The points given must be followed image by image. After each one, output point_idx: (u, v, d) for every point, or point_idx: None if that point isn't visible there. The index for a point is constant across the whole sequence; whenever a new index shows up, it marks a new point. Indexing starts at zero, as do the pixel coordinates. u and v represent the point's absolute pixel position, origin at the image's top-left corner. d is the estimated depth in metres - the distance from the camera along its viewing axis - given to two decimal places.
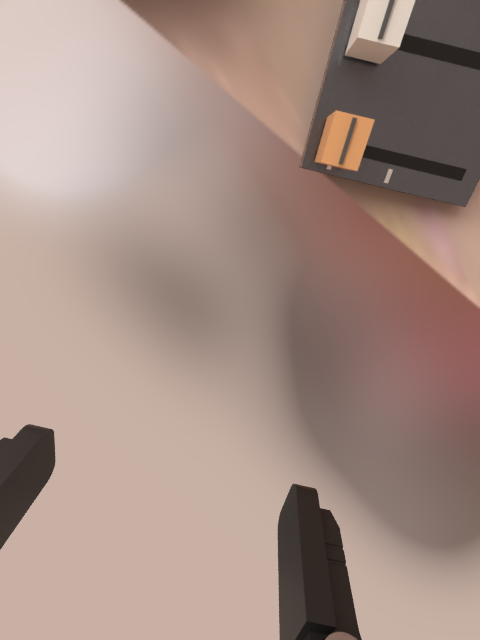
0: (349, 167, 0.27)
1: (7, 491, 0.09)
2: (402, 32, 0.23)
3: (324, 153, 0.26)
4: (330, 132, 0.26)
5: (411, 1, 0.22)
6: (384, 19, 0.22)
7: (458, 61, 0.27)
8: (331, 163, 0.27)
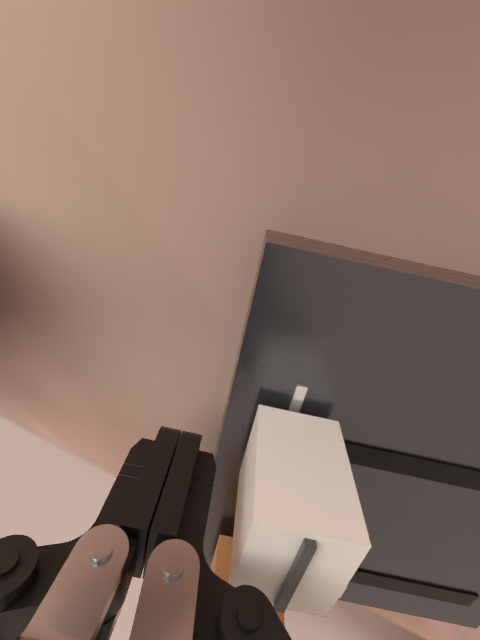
0: None
1: (163, 486, 0.10)
2: (330, 602, 0.09)
3: None
4: None
5: (347, 570, 0.09)
6: (284, 589, 0.09)
7: (462, 481, 0.14)
8: None
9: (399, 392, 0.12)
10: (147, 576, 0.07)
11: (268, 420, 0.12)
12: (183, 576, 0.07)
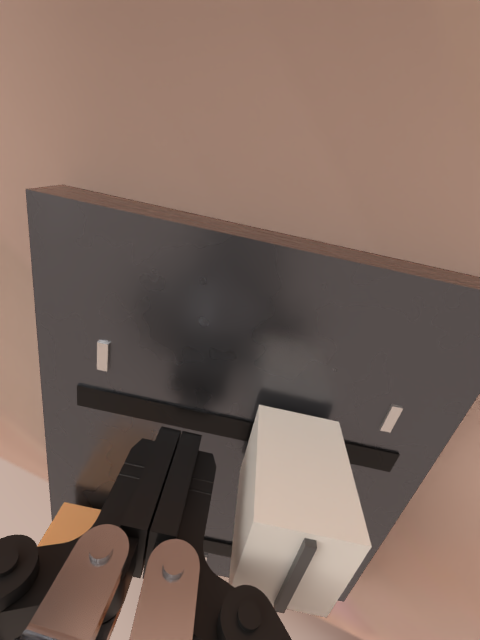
0: None
1: (163, 486, 0.10)
2: (331, 602, 0.09)
3: None
4: None
5: (347, 570, 0.09)
6: (284, 590, 0.09)
7: None
8: None
9: (198, 348, 0.12)
10: (147, 576, 0.07)
11: (268, 420, 0.12)
12: (183, 576, 0.07)
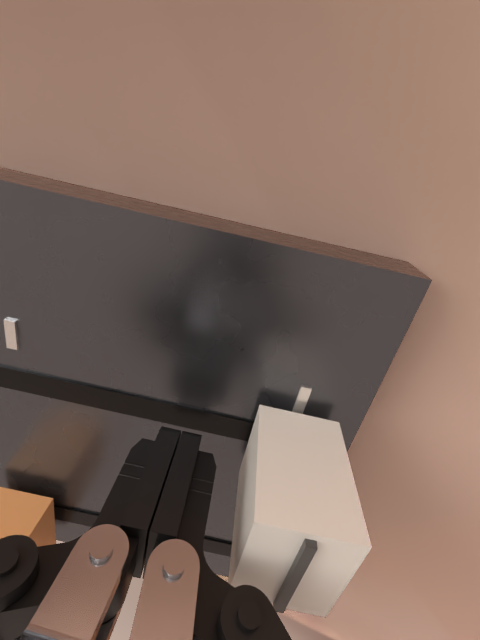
0: None
1: (163, 486, 0.10)
2: (330, 603, 0.10)
3: None
4: None
5: (347, 570, 0.09)
6: (283, 590, 0.09)
7: (202, 425, 0.14)
8: None
9: (105, 327, 0.12)
10: (147, 576, 0.07)
11: (269, 420, 0.12)
12: (183, 576, 0.07)
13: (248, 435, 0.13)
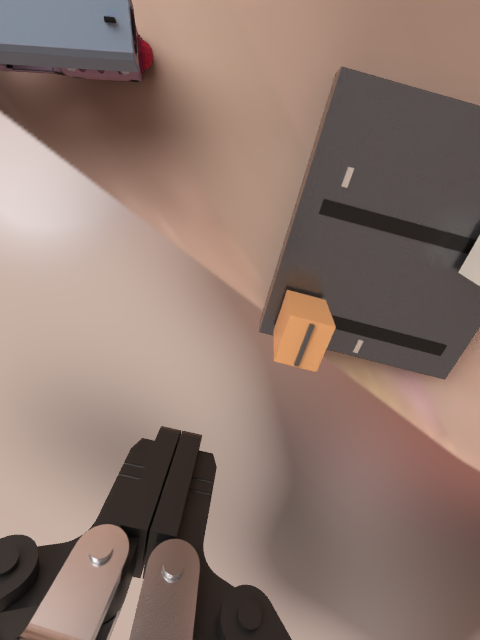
0: (307, 368, 0.23)
1: (163, 486, 0.10)
2: None
3: (277, 353, 0.22)
4: (284, 334, 0.22)
5: None
6: None
7: (439, 242, 0.23)
8: (286, 363, 0.23)
9: (406, 172, 0.21)
10: (147, 576, 0.07)
11: None
12: (183, 576, 0.07)
13: (467, 248, 0.23)
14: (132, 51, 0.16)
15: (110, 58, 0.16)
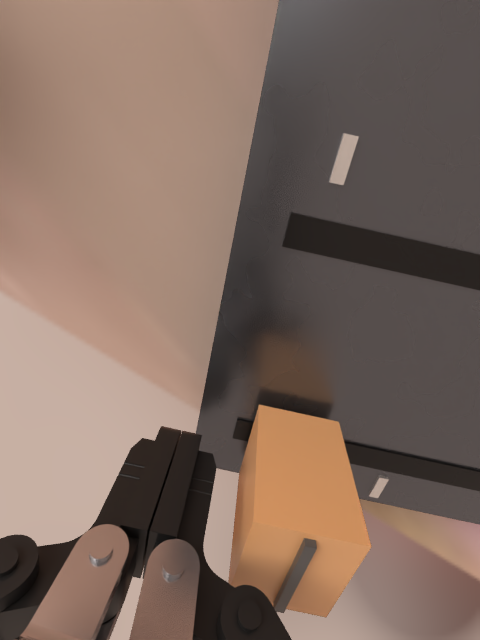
0: (304, 610, 0.10)
1: (164, 486, 0.10)
2: None
3: (233, 584, 0.10)
4: (243, 554, 0.09)
5: None
6: None
7: None
8: None
9: None
10: (147, 576, 0.07)
11: None
12: (183, 576, 0.07)
13: None
14: None
15: None
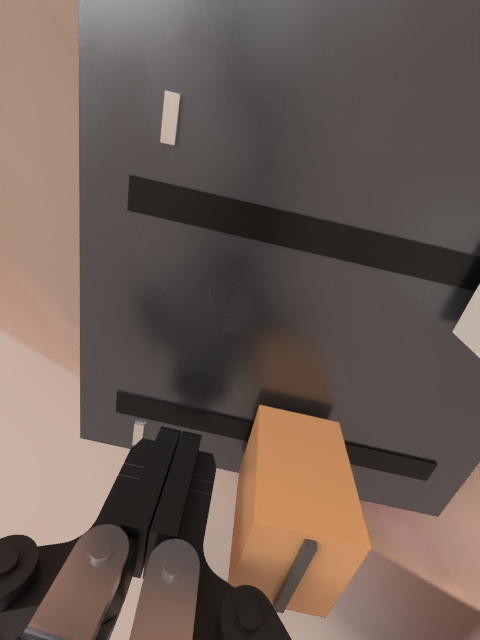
0: (303, 611, 0.10)
1: (163, 486, 0.10)
2: None
3: (233, 584, 0.10)
4: (244, 554, 0.09)
5: None
6: None
7: (406, 267, 0.10)
8: None
9: (308, 98, 0.08)
10: (147, 576, 0.07)
11: None
12: (183, 576, 0.07)
13: (470, 278, 0.10)
14: None
15: None
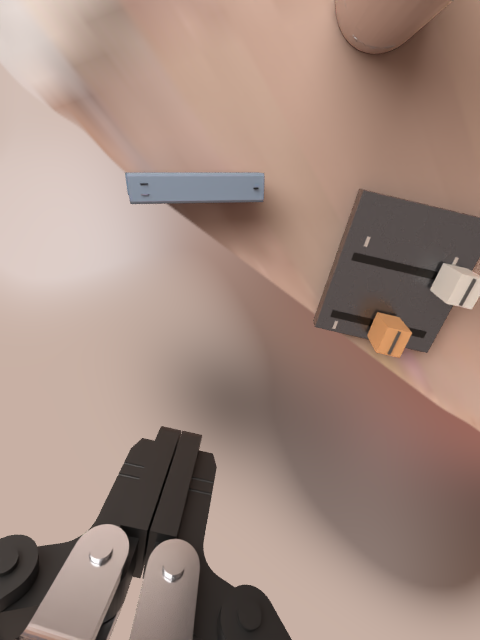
0: (394, 355, 0.41)
1: (163, 486, 0.10)
2: (474, 302, 0.38)
3: (378, 348, 0.41)
4: (383, 337, 0.40)
5: None
6: (464, 297, 0.37)
7: (418, 274, 0.42)
8: (382, 353, 0.41)
9: (398, 238, 0.40)
10: (147, 576, 0.07)
11: (449, 265, 0.40)
12: (183, 576, 0.07)
13: (434, 276, 0.41)
14: (263, 199, 0.35)
15: (252, 201, 0.35)
